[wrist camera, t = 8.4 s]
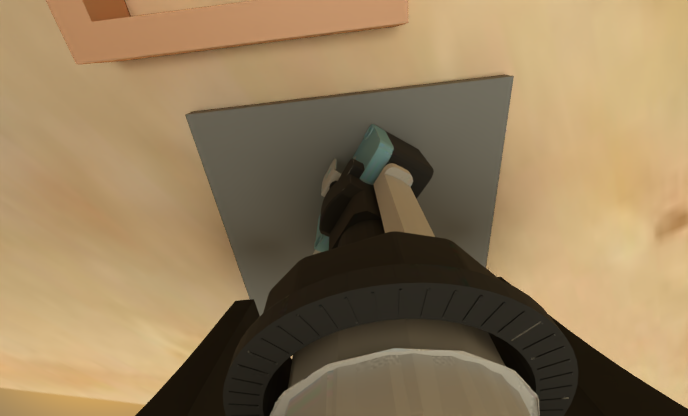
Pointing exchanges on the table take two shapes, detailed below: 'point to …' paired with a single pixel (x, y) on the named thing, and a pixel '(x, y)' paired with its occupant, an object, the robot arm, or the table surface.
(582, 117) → the table surface
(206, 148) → the rubber pad
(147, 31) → the rectangular frame
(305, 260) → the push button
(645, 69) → the table surface
